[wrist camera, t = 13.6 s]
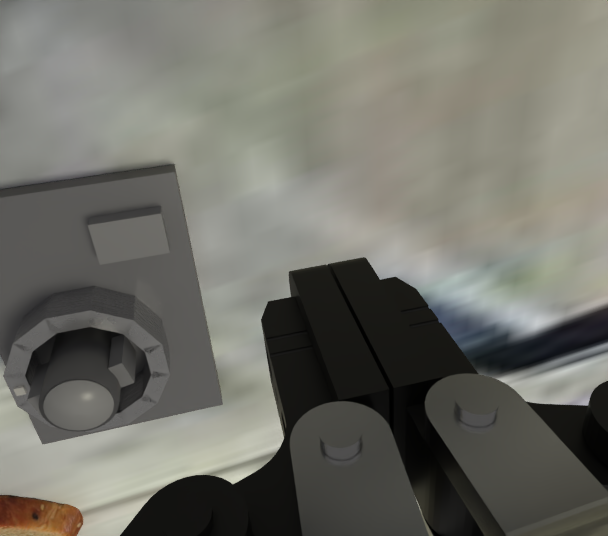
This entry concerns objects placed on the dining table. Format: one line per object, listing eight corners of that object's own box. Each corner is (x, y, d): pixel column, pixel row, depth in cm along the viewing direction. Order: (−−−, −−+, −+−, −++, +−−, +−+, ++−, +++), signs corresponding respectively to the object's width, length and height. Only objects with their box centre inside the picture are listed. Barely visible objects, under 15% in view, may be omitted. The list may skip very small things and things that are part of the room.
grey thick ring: (150, 275, 36) (150, 301, 34) (178, 384, 41) (180, 414, 39) (-6, 303, 35) (-20, 332, 32) (43, 413, 40) (35, 446, 37)
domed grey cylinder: (116, 304, 37) (109, 361, 31) (145, 352, 39) (143, 412, 34) (30, 337, 36) (8, 400, 31) (64, 383, 39) (50, 448, 34)
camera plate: (174, 164, 34) (175, 178, 32) (220, 391, 45) (224, 414, 42) (-60, 198, 32) (-76, 216, 30) (45, 430, 42) (39, 456, 40)
